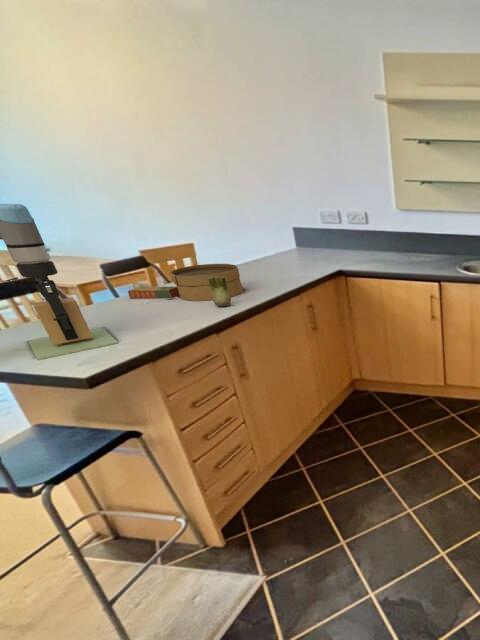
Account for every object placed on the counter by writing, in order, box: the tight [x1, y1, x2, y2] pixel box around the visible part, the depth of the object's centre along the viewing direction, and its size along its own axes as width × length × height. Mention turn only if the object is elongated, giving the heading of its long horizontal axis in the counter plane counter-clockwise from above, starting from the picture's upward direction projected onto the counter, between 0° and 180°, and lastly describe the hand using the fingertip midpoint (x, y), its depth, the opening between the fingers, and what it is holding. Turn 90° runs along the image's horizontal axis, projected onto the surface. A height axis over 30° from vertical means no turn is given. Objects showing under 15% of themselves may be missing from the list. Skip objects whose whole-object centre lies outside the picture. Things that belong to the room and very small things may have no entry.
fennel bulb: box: [208, 277, 232, 307], centre depth 169 cm, size 6×5×12 cm
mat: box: [28, 328, 119, 361], centre depth 132 cm, size 20×18×1 cm
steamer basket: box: [170, 263, 244, 302], centre depth 186 cm, size 25×25×11 cm
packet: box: [31, 297, 93, 345], centre depth 129 cm, size 6×9×12 cm, turn 141°
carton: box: [127, 286, 180, 301], centre depth 180 cm, size 8×16×4 cm, turn 98°
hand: (70, 336), depth 131 cm, fingers closed on packet, 6 cm apart
